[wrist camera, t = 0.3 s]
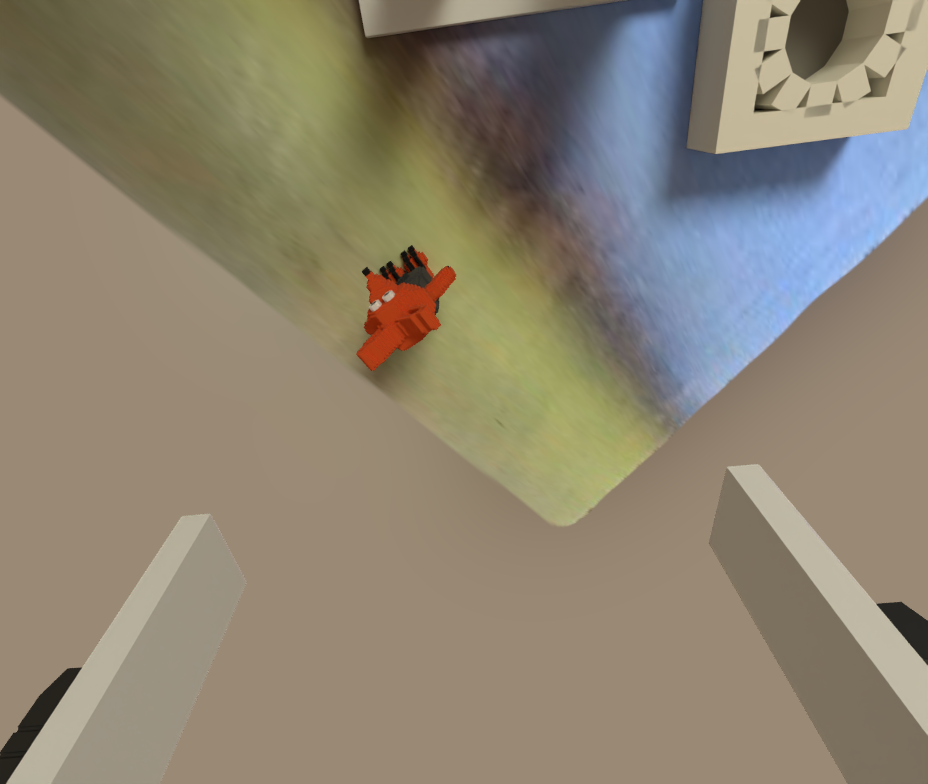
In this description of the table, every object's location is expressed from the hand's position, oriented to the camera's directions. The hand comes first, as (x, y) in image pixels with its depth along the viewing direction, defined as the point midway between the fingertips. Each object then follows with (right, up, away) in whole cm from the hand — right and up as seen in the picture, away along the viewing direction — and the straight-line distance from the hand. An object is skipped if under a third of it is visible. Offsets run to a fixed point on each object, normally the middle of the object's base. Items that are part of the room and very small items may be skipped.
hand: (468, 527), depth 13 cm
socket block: (+21, +27, +19) cm, 39 cm away
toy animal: (-5, +14, +26) cm, 30 cm away
